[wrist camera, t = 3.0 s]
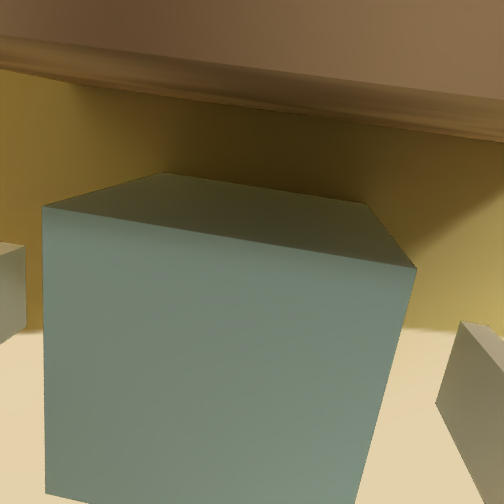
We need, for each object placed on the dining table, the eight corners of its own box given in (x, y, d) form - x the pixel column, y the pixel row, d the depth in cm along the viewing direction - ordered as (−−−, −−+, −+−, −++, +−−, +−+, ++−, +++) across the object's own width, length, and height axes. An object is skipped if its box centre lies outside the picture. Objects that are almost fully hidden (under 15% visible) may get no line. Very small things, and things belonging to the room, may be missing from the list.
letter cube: (368, 203, 14) (423, 270, 7) (329, 382, 16) (343, 562, 9) (164, 172, 15) (41, 206, 8) (151, 348, 17) (45, 493, 10)
